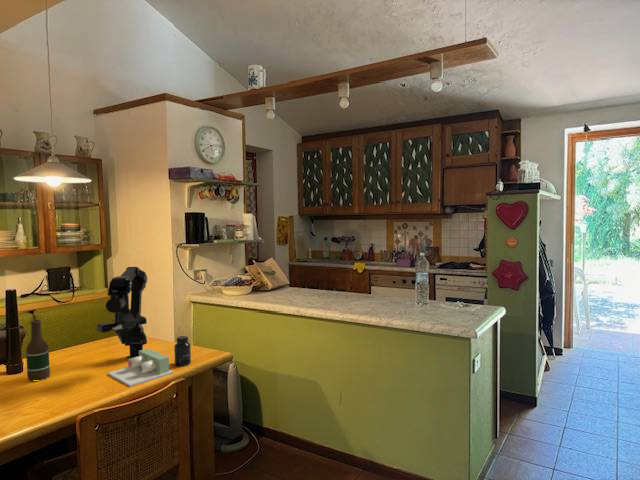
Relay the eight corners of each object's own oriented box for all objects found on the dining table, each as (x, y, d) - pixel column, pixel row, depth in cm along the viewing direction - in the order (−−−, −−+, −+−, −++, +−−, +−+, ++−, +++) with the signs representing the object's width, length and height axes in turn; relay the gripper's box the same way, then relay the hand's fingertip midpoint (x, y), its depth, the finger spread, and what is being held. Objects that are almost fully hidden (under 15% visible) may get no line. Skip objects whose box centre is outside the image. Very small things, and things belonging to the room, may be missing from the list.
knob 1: (155, 359, 193) (154, 350, 193) (159, 361, 191) (159, 352, 190) (127, 367, 184) (126, 358, 184) (131, 369, 181) (131, 360, 181)
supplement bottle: (186, 367, 189) (185, 339, 188) (171, 366, 191) (170, 339, 190) (193, 361, 196) (192, 335, 195) (179, 360, 197) (179, 334, 196)
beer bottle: (54, 375, 181) (51, 318, 179) (37, 382, 173) (33, 323, 172) (40, 373, 183) (37, 317, 182) (22, 380, 176) (19, 322, 174)
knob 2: (165, 364, 187) (165, 355, 187) (170, 366, 185) (170, 356, 184) (137, 372, 178) (137, 362, 178) (142, 374, 175) (141, 365, 175)
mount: (107, 374, 182) (107, 358, 181) (149, 362, 195) (148, 347, 195) (130, 386, 168) (129, 369, 168) (172, 373, 182) (172, 357, 181)
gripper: (107, 314, 171) (108, 353, 172) (152, 306, 185) (153, 342, 186) (95, 310, 178) (97, 347, 179) (139, 302, 192) (141, 337, 193)
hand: (123, 343), depth 184 cm, fingers closed
